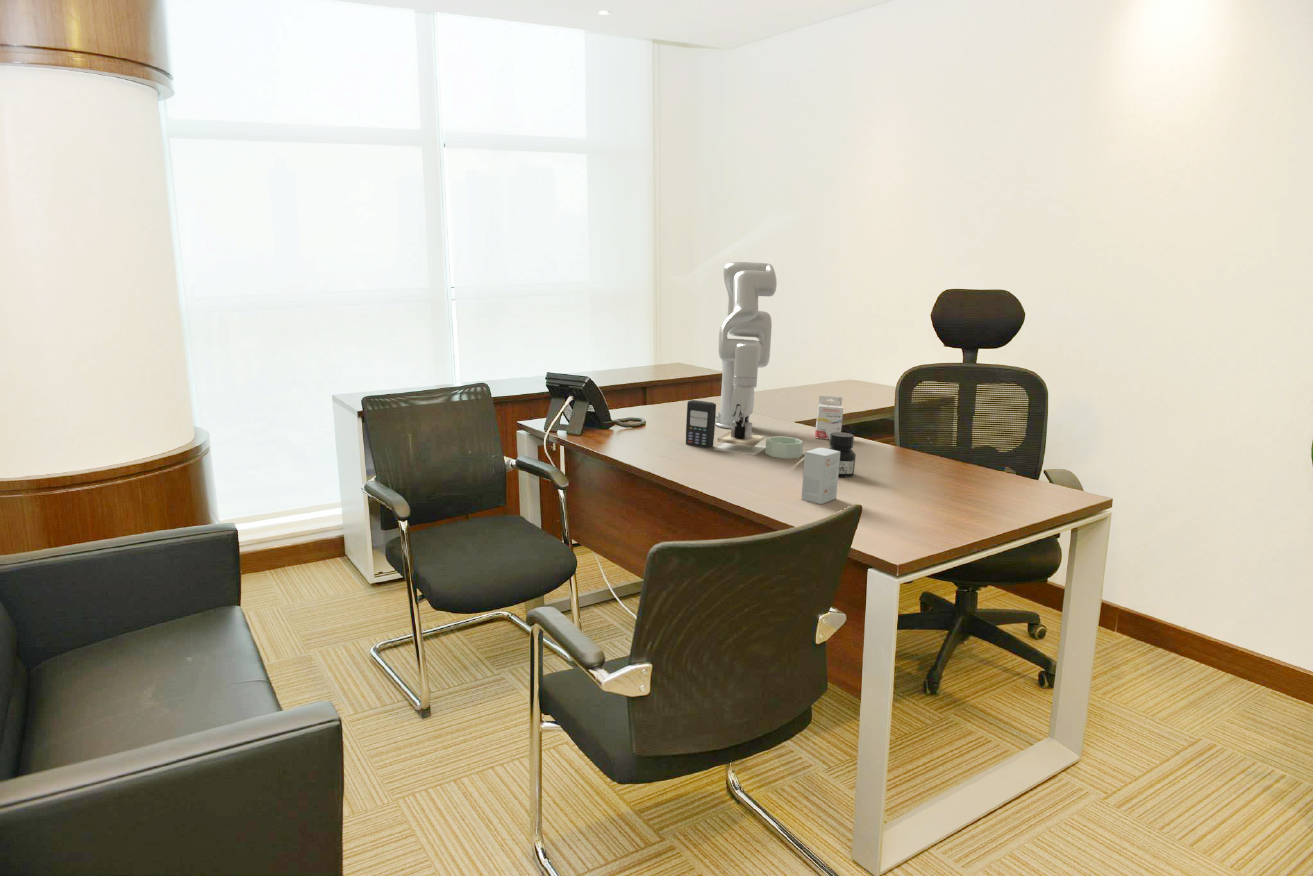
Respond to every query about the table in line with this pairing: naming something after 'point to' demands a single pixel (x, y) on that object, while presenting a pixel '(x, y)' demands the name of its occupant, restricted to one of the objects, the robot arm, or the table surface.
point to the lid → (747, 441)
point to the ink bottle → (844, 452)
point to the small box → (820, 475)
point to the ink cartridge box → (828, 416)
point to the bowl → (784, 447)
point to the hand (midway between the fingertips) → (741, 436)
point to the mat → (740, 448)
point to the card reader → (700, 423)
